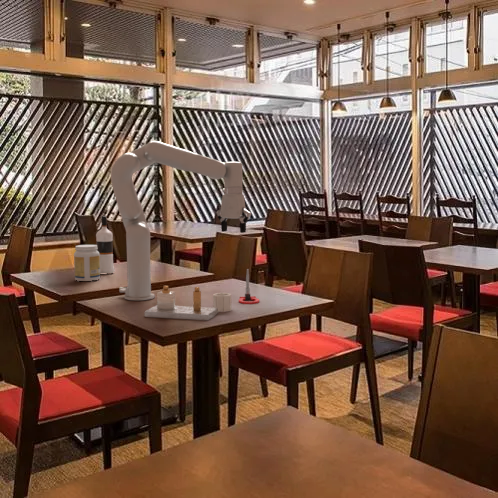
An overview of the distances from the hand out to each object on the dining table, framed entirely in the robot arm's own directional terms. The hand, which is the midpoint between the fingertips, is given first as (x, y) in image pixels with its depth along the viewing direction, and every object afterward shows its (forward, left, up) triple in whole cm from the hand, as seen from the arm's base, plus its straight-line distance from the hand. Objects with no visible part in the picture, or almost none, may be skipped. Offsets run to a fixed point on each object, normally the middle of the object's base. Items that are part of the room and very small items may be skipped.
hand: (233, 231), depth 267 cm
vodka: (-80, +41, -27) cm, 94 cm away
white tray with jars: (-8, -42, -27) cm, 51 cm away
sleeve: (+4, -30, -27) cm, 41 cm away
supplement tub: (-79, +20, -27) cm, 86 cm away
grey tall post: (+10, -12, -27) cm, 32 cm away
